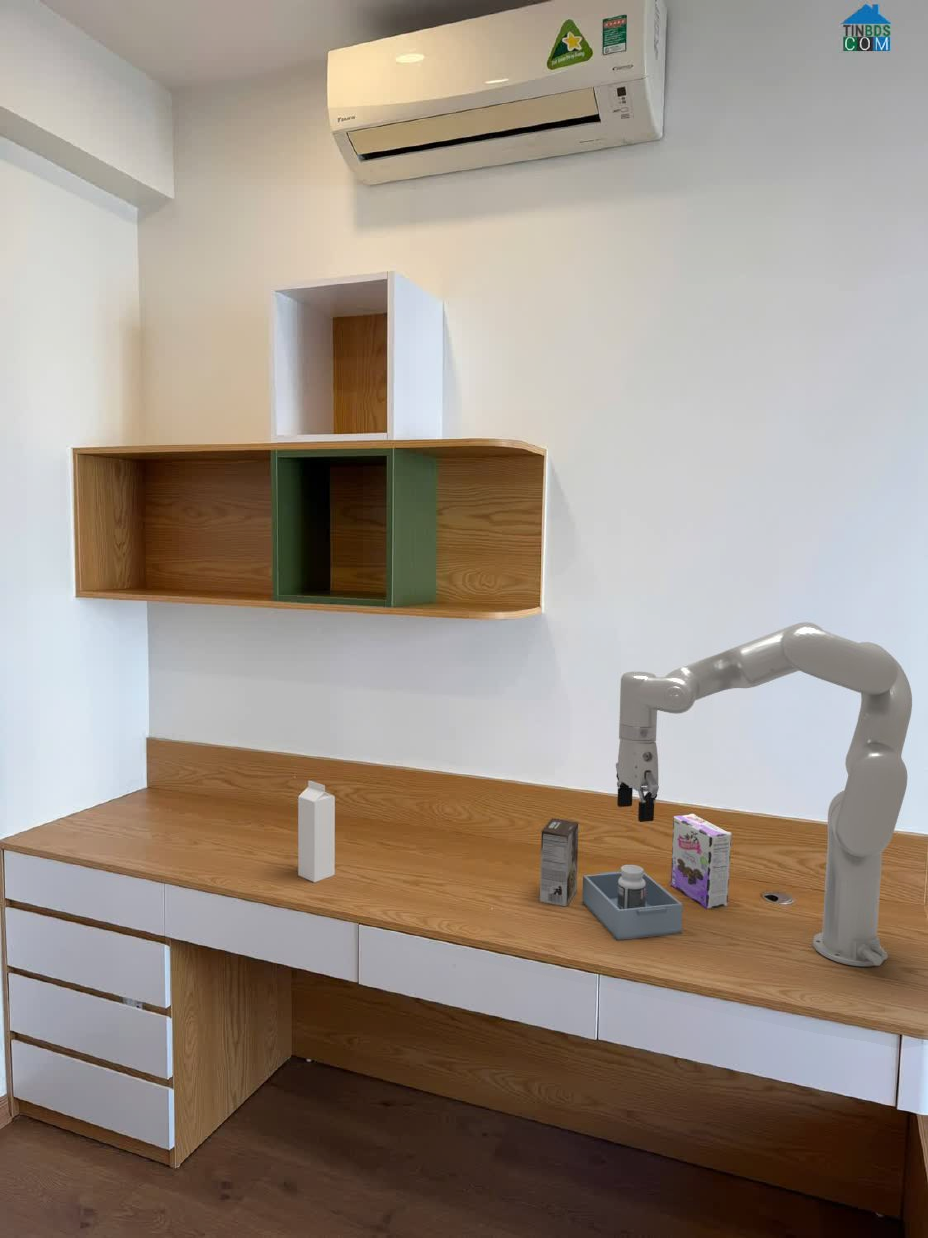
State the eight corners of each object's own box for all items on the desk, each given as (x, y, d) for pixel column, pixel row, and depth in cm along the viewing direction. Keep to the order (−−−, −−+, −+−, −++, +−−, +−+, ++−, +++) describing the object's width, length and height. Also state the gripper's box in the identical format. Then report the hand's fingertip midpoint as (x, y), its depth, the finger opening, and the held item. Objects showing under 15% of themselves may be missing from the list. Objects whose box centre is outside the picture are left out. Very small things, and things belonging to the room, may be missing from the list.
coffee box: (549, 886, 192) (551, 817, 190) (577, 891, 189) (579, 821, 188) (538, 902, 183) (540, 830, 182) (567, 907, 181) (569, 834, 179)
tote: (683, 935, 169) (685, 906, 168) (619, 942, 165) (620, 913, 165) (639, 894, 188) (640, 868, 187) (580, 900, 184) (581, 874, 184)
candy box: (669, 885, 194) (672, 815, 192) (690, 881, 196) (693, 812, 194) (706, 909, 181) (709, 835, 179) (729, 906, 183) (732, 832, 181)
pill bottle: (648, 913, 178) (650, 867, 177) (639, 923, 173) (641, 876, 172) (622, 906, 180) (623, 861, 179) (613, 916, 175) (614, 870, 175)
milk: (314, 883, 192) (314, 788, 189) (297, 875, 195) (297, 783, 193) (335, 875, 196) (335, 782, 194) (318, 868, 200) (318, 777, 198)
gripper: (675, 741, 166) (671, 826, 167) (635, 722, 182) (632, 800, 184) (640, 743, 164) (637, 828, 165) (603, 724, 180) (601, 802, 182)
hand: (635, 813), depth 175 cm, fingers open, 9 cm apart
